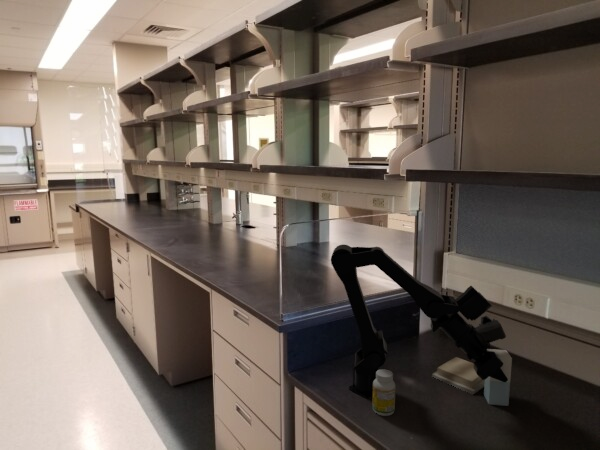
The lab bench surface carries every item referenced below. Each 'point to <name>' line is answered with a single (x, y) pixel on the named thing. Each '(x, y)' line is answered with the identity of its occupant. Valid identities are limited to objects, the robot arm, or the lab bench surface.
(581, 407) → the lab bench surface
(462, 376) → the tower base
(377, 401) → the supplement bottle
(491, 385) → the white and blue box
